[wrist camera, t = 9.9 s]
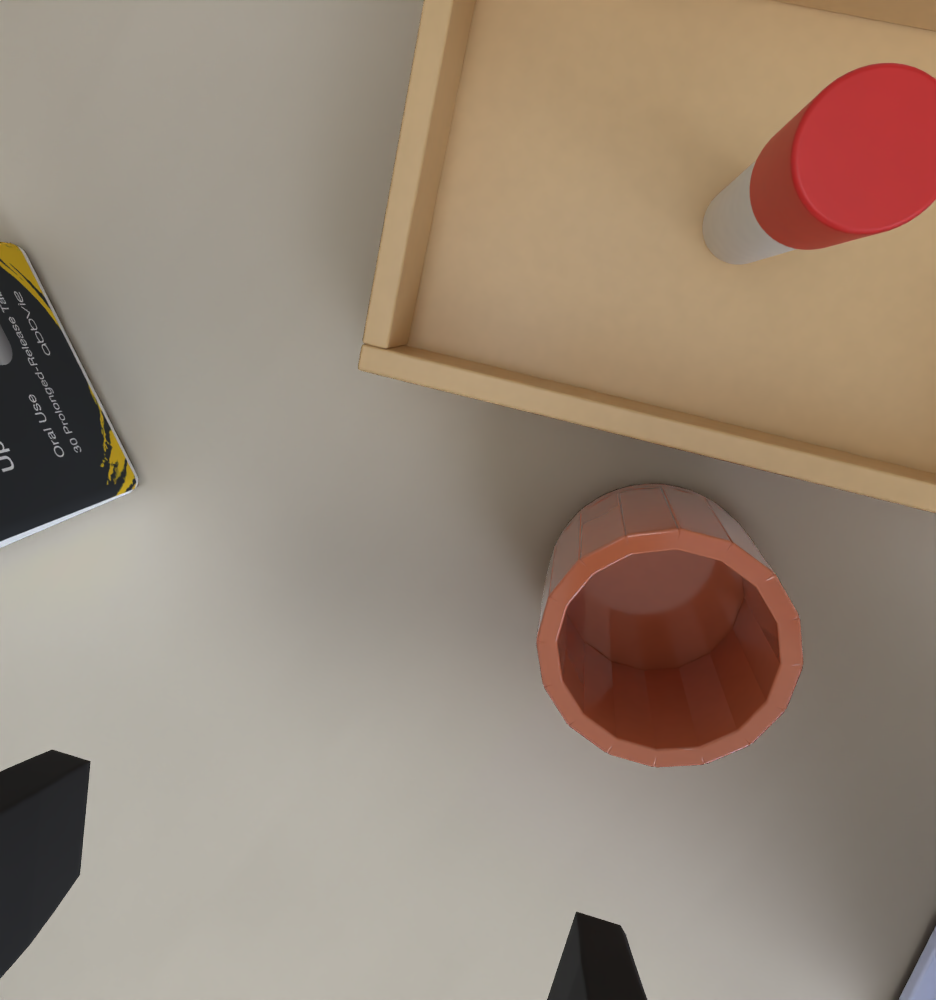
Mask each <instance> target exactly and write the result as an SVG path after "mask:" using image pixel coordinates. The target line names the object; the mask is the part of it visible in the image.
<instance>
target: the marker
mask: <svg viewBox="0 0 936 1000" xmlns="http://www.w3.org/2000/svg"><path fill="white" fill-rule="evenodd" d="M935 200H936V79H935V78H934V77H932V76H931V75H929V74H928V73H926V72H924V71H922V70H920V69H918V68H916V67H913V66H909V65H905V64H899V63H878V64H871V65H867V66H864V67H860V68H857V69H855V70H852V71H850V72H848V73H846V74H844V75H842V76H841V77H839V78H837V79H836V80H834V81H833V82H832V83H830V84H829V85H828V86H827V87H825V88H824V89H823V90H822V91H821V92H820V93H819V94H818V95H817V96H816V97H815V98H814V99H813V100H812V101H810V102H809V103H808V104H807V105H806V106H805V107H804V108H803V109H802V110H801V111H800V112H799V113H798V114H797V115H796V116H794V117H793V118H792V119H791V120H790V121H789V122H788V123H787V124H786V125H785V126H784V127H783V128H782V129H781V130H780V131H778V132H777V133H776V134H775V135H774V136H773V137H772V138H771V139H770V140H769V142H768V143H767V144H766V145H765V146H764V148H763V149H762V151H761V152H760V154H759V156H758V158H757V160H756V161H755V162H754V163H753V164H752V165H750V166H749V167H748V168H747V169H746V170H745V171H744V172H743V173H741V174H740V175H739V176H738V177H737V178H736V179H735V180H734V181H732V182H731V183H730V184H729V185H728V186H727V187H726V188H725V189H723V190H722V191H721V192H720V193H719V194H718V195H717V196H716V197H715V198H714V199H713V200H712V201H711V203H710V204H709V206H708V208H707V210H706V212H705V215H704V219H703V226H702V228H703V237H704V240H705V243H706V245H707V247H708V249H709V250H710V251H711V253H712V254H713V255H714V256H716V257H717V258H718V259H720V260H722V261H724V262H726V263H730V264H739V265H741V264H747V263H751V262H755V261H758V260H762V259H765V258H768V257H772V256H775V255H779V254H782V253H785V252H789V251H792V250H796V249H801V250H815V249H822V248H826V247H830V246H834V245H837V244H841V243H845V242H849V241H852V240H856V239H860V238H864V237H868V236H871V235H875V234H879V233H883V232H886V231H890V230H892V229H895V228H898V227H900V226H902V225H904V224H906V223H908V222H910V221H911V220H913V219H914V218H916V217H917V216H919V215H920V214H921V213H922V212H923V211H925V210H926V209H927V208H928V207H929V206H930V205H931V204H932V203H933V202H934V201H935Z"/></svg>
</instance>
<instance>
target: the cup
mask: <svg viewBox="0 0 936 1000" xmlns="http://www.w3.org/2000/svg"><path fill="white" fill-rule="evenodd" d="M536 639H537V641H536V646H537V652H538V658H539V664H540V671H541V677H542V683H543V685H544V688H545V690H546V692H547V693H548V695H549V696H550V698H551V699H552V701H553V703H554V704H555V706H556V707H557V709H558V710H559V712H560V714H561V715H562V717H563V718H564V720H565V721H566V723H567V724H569V726H570V727H571V728H572V729H574V730H575V731H577V732H578V733H579V734H581V735H582V736H583V737H585V738H586V739H588V740H589V741H590V742H592V743H593V744H594V745H596V746H597V747H599V748H600V749H601V750H603V751H604V752H606V753H607V752H608V754H610V755H613V756H617V757H620V758H624V759H627V760H631V761H634V762H637V763H641V764H644V765H648V766H651V767H654V766H655V767H672V766H690V765H703V764H704V763H705V764H708V763H710V762H713V761H715V760H717V759H720V758H722V757H724V756H727V755H729V754H731V753H734V752H736V751H738V750H741V749H743V748H745V747H748V746H749V745H750V744H752V743H754V742H755V741H756V740H757V739H758V738H759V737H760V736H761V735H762V734H763V733H764V732H765V731H766V730H767V729H768V728H769V727H770V726H771V725H772V724H773V723H774V722H775V721H776V720H777V719H778V718H779V717H780V716H781V715H782V714H783V713H784V711H785V710H786V709H787V706H788V704H789V701H790V699H791V696H792V694H793V691H794V689H795V686H796V683H797V681H798V678H799V676H800V673H801V671H802V668H803V666H802V665H803V650H802V636H801V623H800V618H799V614H798V612H797V610H796V609H795V607H794V605H793V603H792V602H791V600H790V598H789V596H788V595H787V593H786V591H785V589H784V588H783V586H782V584H781V582H780V581H779V579H778V577H777V575H776V574H775V573H774V571H773V570H772V568H771V567H770V566H769V564H768V563H767V561H766V560H765V559H764V557H763V556H762V554H761V553H760V552H759V550H758V549H757V547H756V546H755V545H754V543H753V542H752V540H751V539H750V538H749V536H748V535H747V533H746V532H745V531H744V529H743V528H742V526H741V525H740V524H739V523H738V522H737V521H736V520H735V519H733V518H732V517H731V516H730V515H729V514H728V513H727V512H726V511H725V510H724V509H723V508H721V507H720V506H719V505H718V504H716V503H715V502H713V501H711V500H710V499H708V498H707V497H705V496H703V495H700V494H698V493H696V492H694V491H691V490H688V489H685V488H682V487H677V486H671V485H665V484H641V485H634V486H629V487H624V488H621V489H618V490H615V491H612V492H609V493H607V494H605V495H603V496H601V497H599V498H597V499H596V500H594V501H593V502H591V503H589V504H588V505H587V506H585V507H584V508H583V509H582V510H581V511H579V512H578V513H577V514H576V515H575V516H574V517H573V518H572V519H571V521H570V522H569V523H568V524H567V526H566V527H565V528H564V530H563V531H562V533H561V534H560V536H559V538H558V540H557V542H556V544H555V547H554V549H553V552H552V555H551V559H550V564H549V569H548V572H547V576H546V580H545V586H544V592H543V599H542V605H541V612H540V618H539V625H538V631H537V637H536Z"/></svg>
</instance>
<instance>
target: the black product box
mask: <svg viewBox="0 0 936 1000" xmlns="http://www.w3.org/2000/svg"><path fill="white" fill-rule="evenodd" d="M137 485H138V477H137V474H136V472H135V470H134V468H133V466H132V464H131V462H130V460H129V458H128V456H127V454H126V452H125V450H124V448H123V446H122V444H121V442H120V440H119V438H118V436H117V434H116V432H115V430H114V428H113V426H112V424H111V422H110V420H109V418H108V416H107V414H106V412H105V410H104V408H103V406H102V404H101V402H100V400H99V398H98V396H97V394H96V392H95V390H94V388H93V386H92V384H91V382H90V380H89V378H88V376H87V374H86V372H85V370H84V368H83V366H82V364H81V362H80V360H79V358H78V356H77V354H76V352H75V350H74V348H73V346H72V344H71V342H70V340H69V338H68V336H67V334H66V332H65V330H64V328H63V326H62V324H61V322H60V320H59V318H58V316H57V314H56V312H55V310H54V308H53V306H52V304H51V302H50V300H49V298H48V296H47V294H46V292H45V290H44V288H43V286H42V284H41V282H40V280H39V278H38V276H37V274H36V273H35V271H34V269H33V267H32V265H31V263H30V261H29V259H28V257H27V255H26V253H25V252H24V250H23V249H22V248H20V247H18V246H16V245H14V244H12V243H5V242H0V548H1V547H4V546H6V545H8V544H11V543H13V542H15V541H18V540H20V539H22V538H25V537H27V536H30V535H32V534H34V533H37V532H39V531H41V530H44V529H46V528H48V527H51V526H53V525H55V524H58V523H60V522H62V521H65V520H67V519H69V518H72V517H74V516H77V515H79V514H81V513H84V512H86V511H88V510H91V509H93V508H95V507H98V506H100V505H102V504H105V503H107V502H109V501H112V500H114V499H116V498H119V497H121V496H124V495H126V494H128V493H130V492H131V491H133V490H134V489H135V488H136V487H137Z"/></svg>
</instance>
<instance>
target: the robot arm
mask: <svg viewBox="0 0 936 1000" xmlns="http://www.w3.org/2000/svg"><path fill="white" fill-rule="evenodd" d="M89 771H90V761H87V760H84V759H81V758H78V757H74V756H71V755H68V754H65V753H61V752H58V751H55V750H50V751H48V752H45V753H43V754H40V755H38V756H35V757H33V758H31V759H28V760H26V761H24V762H21V763H19V764H17V765H14V766H12V767H10V768H8V769H5V770H3V771H1V772H0V978H1V977H2V976H3V975H4V974H5V972H6V971H7V970H8V969H9V968H10V967H11V966H12V965H13V963H14V962H15V961H16V960H17V959H18V958H19V956H20V955H21V954H22V953H23V952H24V951H25V950H26V948H27V947H28V946H29V945H30V944H31V942H32V941H33V940H34V938H35V937H36V936H37V934H38V933H39V931H40V930H41V929H42V927H43V926H44V925H45V923H46V922H47V921H48V919H49V918H50V917H51V915H52V914H53V912H54V911H55V910H56V908H57V907H58V905H59V904H60V902H61V901H62V900H63V898H64V897H65V895H66V894H67V892H68V891H69V890H70V888H71V887H72V885H73V884H74V882H75V881H76V879H77V878H78V877H79V875H80V867H81V857H82V846H83V835H84V825H85V814H86V803H87V793H88V782H89ZM547 1000H647V998H646V995H645V992H644V989H643V986H642V983H641V980H640V977H639V974H638V971H637V968H636V965H635V962H634V959H633V956H632V953H631V950H630V947H629V944H628V940H627V937H626V934H625V933H624V931H623V929H622V927H621V926H620V925H618V924H614V923H611V922H608V921H605V920H601V919H598V918H595V917H592V916H588V915H585V914H582V913H579V912H576V914H575V917H574V920H573V923H572V926H571V929H570V932H569V935H568V938H567V941H566V944H565V947H564V950H563V953H562V956H561V960H560V963H559V966H558V969H557V972H556V975H555V978H554V981H553V984H552V987H551V990H550V993H549V996H548V999H547ZM899 1000H936V926H935V928H934V930H933V932H932V934H931V936H930V938H929V940H928V942H927V944H926V946H925V948H924V950H923V952H922V954H921V956H920V958H919V960H918V962H917V964H916V966H915V968H914V970H913V972H912V974H911V976H910V978H909V980H908V982H907V984H906V986H905V988H904V990H903V992H902V994H901V996H900V998H899Z"/></svg>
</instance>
